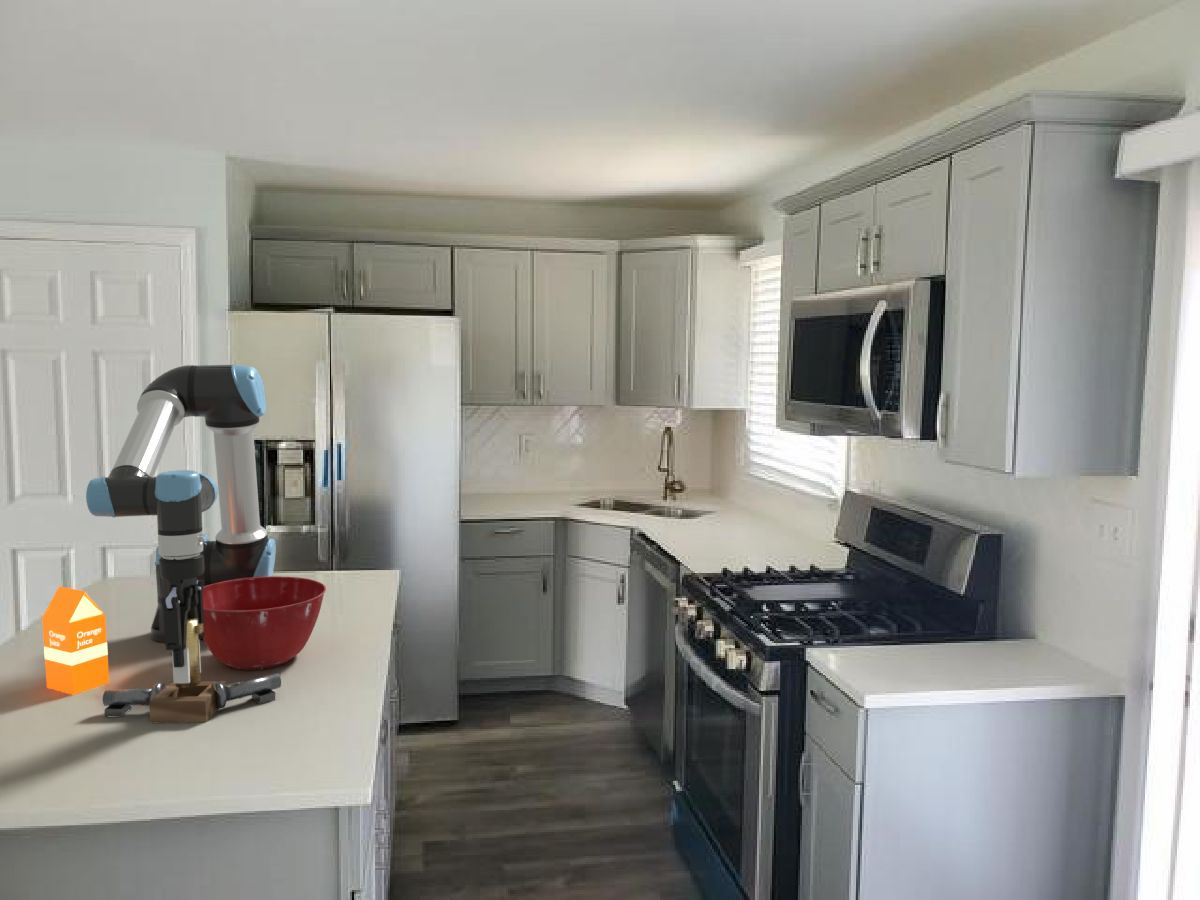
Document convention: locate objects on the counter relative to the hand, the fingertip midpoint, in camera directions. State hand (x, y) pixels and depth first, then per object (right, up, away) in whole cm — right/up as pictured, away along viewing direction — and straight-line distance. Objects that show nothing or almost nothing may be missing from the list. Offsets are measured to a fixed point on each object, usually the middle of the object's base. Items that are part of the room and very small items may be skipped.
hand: (187, 677), depth 170 cm
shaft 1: (-10, -7, 0) cm, 12 cm away
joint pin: (0, -1, 0) cm, 1 cm away
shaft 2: (+9, -6, +5) cm, 12 cm away
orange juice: (-29, -5, +14) cm, 33 cm away
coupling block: (0, -7, +1) cm, 7 cm away
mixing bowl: (+3, -4, +30) cm, 30 cm away
